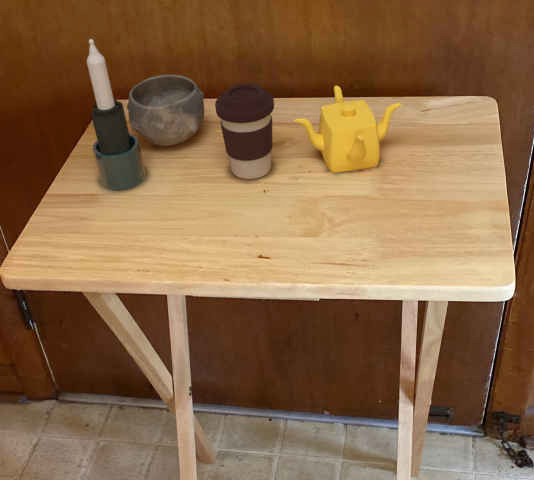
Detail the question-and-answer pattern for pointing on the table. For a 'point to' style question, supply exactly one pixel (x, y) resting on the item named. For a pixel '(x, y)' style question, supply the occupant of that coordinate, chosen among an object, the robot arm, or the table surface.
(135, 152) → the cup
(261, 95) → the coffee cup
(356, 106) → the teapot
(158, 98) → the bowl
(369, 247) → the table surface
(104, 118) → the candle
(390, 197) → the table surface
